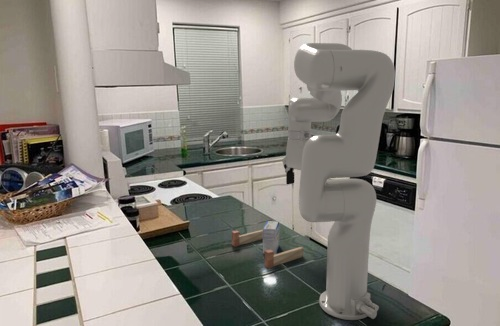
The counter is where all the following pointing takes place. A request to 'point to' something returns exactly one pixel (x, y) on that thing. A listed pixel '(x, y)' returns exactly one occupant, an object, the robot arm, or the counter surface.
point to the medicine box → (271, 236)
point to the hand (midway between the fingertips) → (298, 186)
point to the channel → (270, 258)
